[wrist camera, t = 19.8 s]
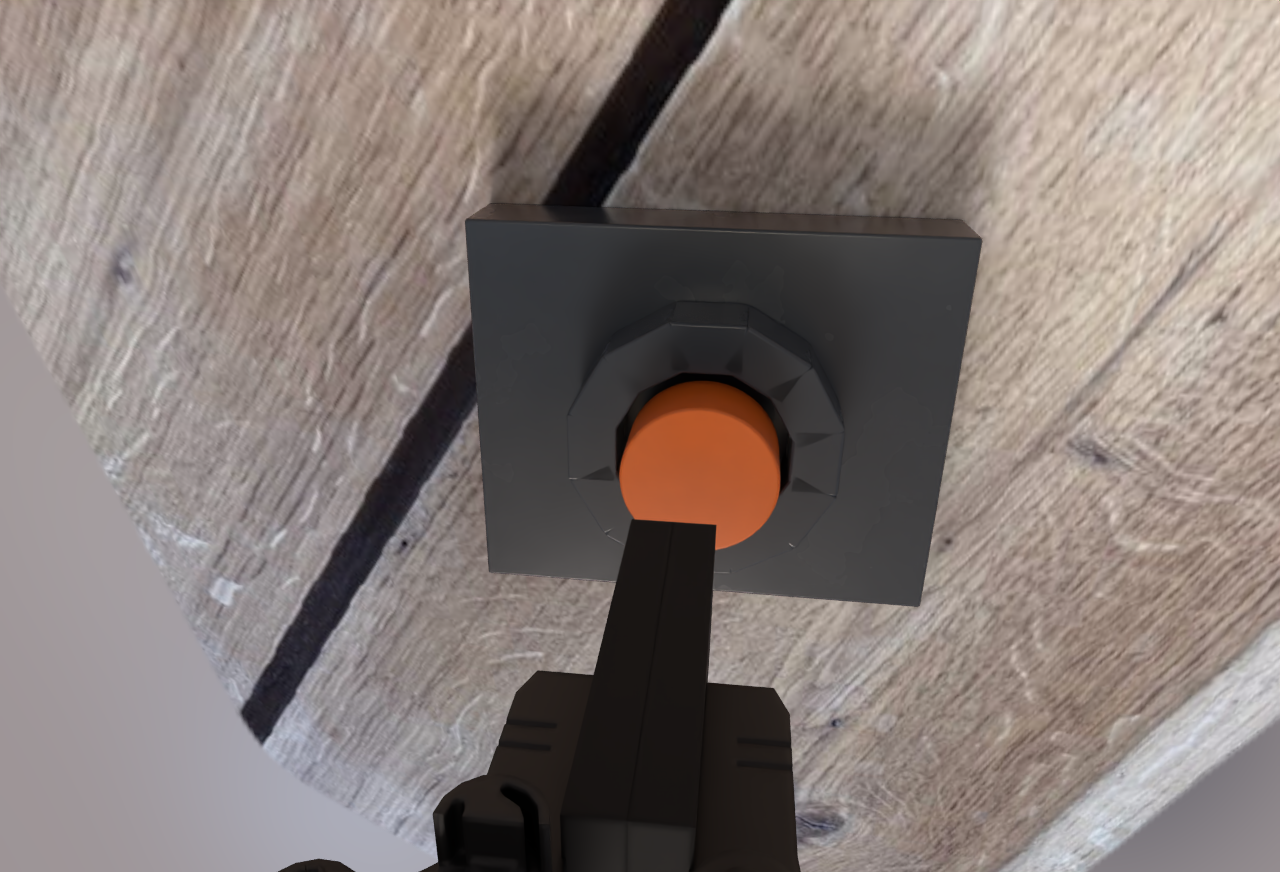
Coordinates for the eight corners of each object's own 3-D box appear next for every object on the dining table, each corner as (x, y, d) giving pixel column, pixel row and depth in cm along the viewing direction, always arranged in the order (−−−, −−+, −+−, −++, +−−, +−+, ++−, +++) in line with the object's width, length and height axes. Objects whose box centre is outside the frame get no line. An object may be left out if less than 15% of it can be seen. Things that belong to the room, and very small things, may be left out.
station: (507, 534, 28) (469, 610, 24) (488, 202, 23) (439, 234, 20) (908, 564, 26) (931, 649, 23) (963, 219, 22) (1003, 256, 18)
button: (628, 510, 22) (618, 546, 21) (629, 375, 21) (618, 403, 19) (773, 520, 22) (774, 557, 20) (784, 383, 21) (786, 413, 19)
